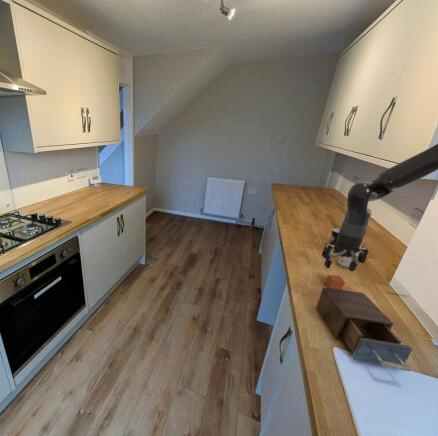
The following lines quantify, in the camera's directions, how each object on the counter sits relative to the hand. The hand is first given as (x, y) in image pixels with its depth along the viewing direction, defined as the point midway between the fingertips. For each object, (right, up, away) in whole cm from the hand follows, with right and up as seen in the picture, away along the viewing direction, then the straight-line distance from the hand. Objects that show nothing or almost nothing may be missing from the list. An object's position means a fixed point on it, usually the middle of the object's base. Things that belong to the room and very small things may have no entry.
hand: (338, 268), depth 98 cm
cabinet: (-11, -16, -17) cm, 26 cm away
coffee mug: (+29, +4, +37) cm, 47 cm away
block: (0, -8, +3) cm, 9 cm away
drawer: (-14, -19, -27) cm, 36 cm away
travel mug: (+19, -3, +19) cm, 27 cm away
